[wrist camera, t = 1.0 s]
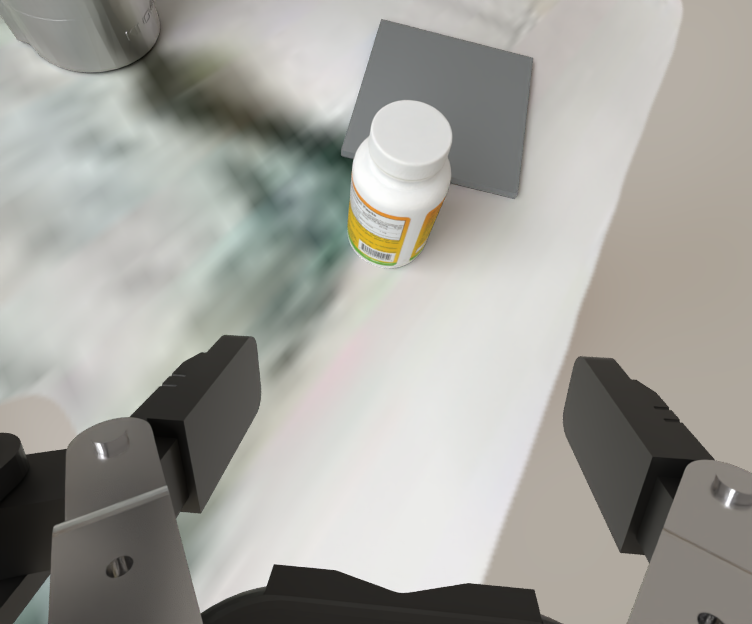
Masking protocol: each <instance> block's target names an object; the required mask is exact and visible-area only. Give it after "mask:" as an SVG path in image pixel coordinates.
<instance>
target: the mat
mask: <svg viewBox="0 0 752 624" xmlns="http://www.w3.org/2000/svg"><path fill="white" fill-rule="evenodd" d="M532 63H533V58H531V57H527V56H523V55H520V54H516V53H512V52H508V51H504V50H500V49H496V48H492V47H488V46H484V45H481V44H477V43H473V42H469V41H465V40H461V39H457V38H453V37H449V36H445V35H442V34H438V33H434V32H430V31H426V30H422V29H418V28H414V27H410V26H407V25H403V24H399V23H395V22H391V21H387V20H383V19H381V22H380V25H379V29H378V32H377V35H376V38H375V42H374V45H373V48H372V51H371V55H370V58H369V61H368V65H367V68H366V71H365V74H364V78H363V81H362V84H361V87H360V91H359V94H358V97H357V100H356V104H355V107H354V110H353V113H352V117H351V120H350V123H349V127H348V130H347V133H346V136H345V140H344V143H343V146H342V149H341V156H344V157H348V158H352V159H354V157H355V154H356V151H357V149H358V148H359V146H360V145H361V143H362V142H363V141H364V140H365V139H366V138H368V137H369V135H370V130H371V124H372V121H373V118H374V117H375V115H376V114H377V112H378V111H379V110H380V109H381V108H383V107H384V106H386V105H388V104H390V103H392V102H396V101H401V100H413V101H419V102H423V103H426V104H428V105H430V106H432V107H434V108H435V109H437V110H438V111H439V112H441V113H442V114H443V115H444V117H445V118H446V119H447V121H448V122H449V124H450V127H451V130H452V144H451V148H450V151H449V154H448V160H449V162H450V167H451V181H450V183H453V184H457V185H461V186H465V187H469V188H473V189H477V190H481V191H485V192H489V193H493V194H497V195H501V196H505V197H509V198H513V199H515V197H516V196H517V194H518V187H519V178H520V169H521V161H522V152H523V143H524V134H525V125H526V116H527V107H528V98H529V89H530V80H531V71H532Z"/></svg>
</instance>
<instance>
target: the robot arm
mask: <svg viewBox="0 0 752 624" xmlns="http://www.w3.org/2000/svg"><path fill="white" fill-rule="evenodd" d="M0 16H1V17H2V19H3V20H4V21H5V23H6V24H7V26H8V27H9V29H10V30H11V31H12V33H13V34H14V36H15V37H16V39H17V40H19V41H22V42H26V43H28V44H31V45H32V46H33V48H34V49H35V50H36V51H37V52H38V54H39V55H40V56H41V57H43V58H44V59H45V60H47V61H48V62H50V63H52V64H54V65H56V66H58V67H61V68H64V69H68V70H72V71H79V72H104V71H109V70H114V69H118V68H120V67H123V66H126V65H129V64H131V63H133V62H134V61H136V60H138V59H140V58H141V57H142V56H144V55H145V54H146V53H147V52H148V51H149V50H150V49H151V48H152V46H153V45H154V44H155V42H156V41H157V38H158V36H159V33H160V21H159V16H158V13H157V10H156V8H155V5H154V2H153V0H0ZM260 400H261V382H260V372H259V362H258V352H257V344H256V340H255V338H254V337H251V336H234V335H223V336H222V337H221V338H220V339H219V340H218V341H217V342H216V343H215V344H214V345H213V346H212V347H211V348H210V349H209V351H208V352H207V353H203V352H201V353H199V354H197V355H196V356H194V357H192V358H190V359H188V360H186V361H185V362H183V363H182V364H181V365H180V366H179V367H178V368H177V369H176V370H175V371H174V372H173V373H172V376H169V377H168V378H167V379H166V380H165V381H164V382H163V384H162V386H160V387H159V388H158V389H157V390H156V391H155V392H154V393H153V394H152V395H151V396H150V397H149V398H148V399H147V400H146V401H145V402H144V403H143V404H142V405H141V406H140V407H139V408H138V409H137V410H136V411H135V412H134V413H133V414H132V415H131V416H130V417H125V418H116V419H112V420H108V421H104V422H101V423H99V424H96V425H94V426H92V427H90V428H88V429H86V430H85V431H83V432H82V433H80V434H79V435H78V436H76V437H75V438H74V439H73V440H72V441H71V443H70V444H69V446H68V448H67V449H63V450H56V451H49V452H42V453H35V454H28V455H25V452H24V449H23V447H22V444H21V441H20V439H19V438H18V437H17V436H15V435H13V434H10V433H0V624H13V623H14V622H15V620H16V619H17V618H18V616H19V615H20V614H21V612H22V611H23V610H24V608H25V607H26V606H27V604H28V603H29V602H30V600H31V599H32V598H33V596H34V595H35V594H36V592H37V591H38V590H39V588H40V587H41V586H42V584H43V583H44V582H45V580H46V579H47V578H48V576H49V575H50V595H49V617H48V624H562V623H560V622H557V621H555V620H553V619H551V618H549V617H546V616H544V615H541V614H540V611H539V607H538V603H537V598H536V594H535V591H534V590H533V589H523V588H511V587H502V586H491V585H481V584H471V583H467V584H460V585H454V586H448V587H441V588H435V589H429V590H423V591H416V592H410V593H397V592H394V591H391V590H388V589H385V588H383V587H380V586H377V585H375V584H372V583H369V582H366V581H364V580H361V579H358V578H355V577H353V576H350V575H347V574H344V573H342V572H339V571H336V570H327V569H317V568H306V567H296V566H286V565H276V564H274V566H273V569H272V572H271V575H270V578H269V581H268V584H267V586H266V587H261V588H256V589H252V590H249V591H245V592H242V593H239V594H237V595H234V596H232V597H229V598H227V599H225V600H223V601H221V602H219V603H217V604H215V605H214V606H212V607H210V608H208V609H207V610H205V611H204V612H202V613H201V614H200V610H199V606H198V602H197V599H196V595H195V591H194V587H193V583H192V579H191V575H190V571H189V568H188V564H187V560H186V556H185V552H184V548H183V544H182V540H181V537H180V533H179V529H178V525H177V521H176V518H177V516H178V514H179V513H180V512H190V513H202V511H203V509H204V507H205V505H206V504H207V502H208V500H209V498H210V496H211V495H212V493H213V491H214V489H215V487H216V486H217V484H218V482H219V480H220V479H221V477H222V475H223V473H224V471H225V470H226V468H227V466H228V464H229V462H230V461H231V459H232V457H233V455H234V453H235V452H236V450H237V448H238V446H239V444H240V443H241V441H242V439H243V437H244V435H245V434H246V432H247V430H248V428H249V426H250V425H251V423H252V421H253V419H254V417H255V416H256V414H257V412H258V409H259V406H260ZM563 426H564V432H565V435H566V437H567V439H568V442H569V444H570V446H571V448H572V450H573V453H574V455H575V457H576V459H577V461H578V463H579V465H580V468H581V470H582V472H583V474H584V476H585V478H586V480H587V483H588V485H589V487H590V489H591V491H592V493H593V495H594V498H595V500H596V502H597V504H598V506H599V508H600V510H601V513H602V515H603V517H604V519H605V521H606V523H607V526H608V528H609V530H610V532H611V534H612V536H613V538H614V541H615V543H616V545H617V547H618V549H619V551H620V553H629V554H640V555H645V556H646V558H647V560H648V562H649V566H648V569H647V571H646V574H645V577H644V579H643V582H642V584H641V587H640V590H639V592H638V595H637V598H636V600H635V603H634V606H633V608H632V611H631V614H630V616H629V619H628V622H627V624H752V473H750V472H748V471H746V470H744V469H742V468H739V467H737V466H734V465H731V464H728V463H724V462H719V461H715V460H714V458H713V457H712V456H711V455H710V454H709V453H708V452H707V450H706V449H705V448H704V447H703V446H702V445H701V443H700V442H699V441H698V440H697V439H696V438H695V437H694V435H693V434H692V433H691V432H690V431H689V430H688V429H687V428H686V426H685V425H684V424H683V423H680V421H679V418H678V417H677V416H676V415H675V414H674V413H673V411H672V410H669V407H668V406H667V405H666V403H665V402H664V401H663V400H662V399H661V398H660V397H659V396H658V394H657V393H656V392H654V391H653V390H651V389H650V388H648V387H646V386H645V385H643V384H642V383H640V382H639V381H637V380H631V379H630V378H629V377H628V375H627V374H626V373H625V372H624V371H623V369H622V368H621V367H620V366H619V364H618V363H617V362H616V361H615V360H614V359H613V358H599V357H582V356H580V357H578V358H577V359H576V361H575V363H574V367H573V371H572V375H571V380H570V384H569V389H568V393H567V398H566V402H565V407H564V412H563Z"/></svg>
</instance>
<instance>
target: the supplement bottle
mask: <svg viewBox="0 0 752 624" xmlns="http://www.w3.org/2000/svg"><path fill="white" fill-rule="evenodd" d="M451 144H452V130H451V127H450V124H449V122H448V121H447V119H446V118H445V117H444V115H443V114H442V113H441V112H439V111H438V110H437V109H435V108H434V107H432V106H430V105H428V104H426V103H423V102H419V101H413V100H401V101H396V102H392V103H390V104H388V105H386V106H384V107H383V108H381V109H380V110H379V111H378V112H377V114H376V115H375V117H374V118H373V121H372V124H371V130H370V135H369V137H368V138H366V139H365V140H364V141H363V142H362V143H361V145H360V146H359V148H358V149H357V151H356V154H355V157H354V161H353V168H352V179H351V192H350V203H349V215H348V238H349V242H350V244H351V246H352V248H353V250H354V251H355V252H356V254H357V255H358V256H359V257H360V258H362V259H363V260H364V261H366V262H367V263H369V264H371V265H374V266H377V267H381V268H397V267H401V266H404V265H406V264H408V263H410V262H412V261H413V260H414V259H415V258H416V257H417V256H418V255H419V254H420V253H421V251H422V250H423V248H424V246H425V244H426V241H427V239H428V236H429V234H430V231H431V229H432V227H433V224H434V222H435V220H436V217H437V215H438V213H439V210H440V208H441V206H442V204H443V201H444V199H445V196H446V194H447V191H448V188H449V185H450V181H451V167H450V162H449V160H448V154H449V151H450V148H451Z"/></svg>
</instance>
